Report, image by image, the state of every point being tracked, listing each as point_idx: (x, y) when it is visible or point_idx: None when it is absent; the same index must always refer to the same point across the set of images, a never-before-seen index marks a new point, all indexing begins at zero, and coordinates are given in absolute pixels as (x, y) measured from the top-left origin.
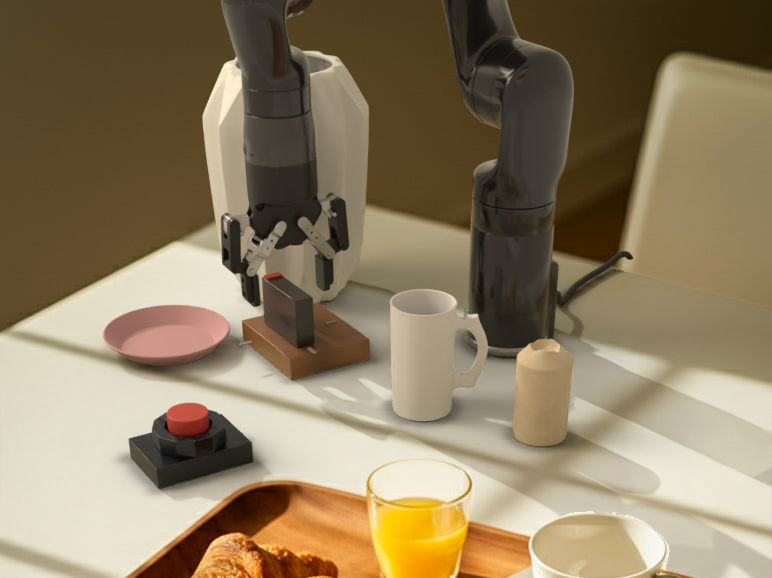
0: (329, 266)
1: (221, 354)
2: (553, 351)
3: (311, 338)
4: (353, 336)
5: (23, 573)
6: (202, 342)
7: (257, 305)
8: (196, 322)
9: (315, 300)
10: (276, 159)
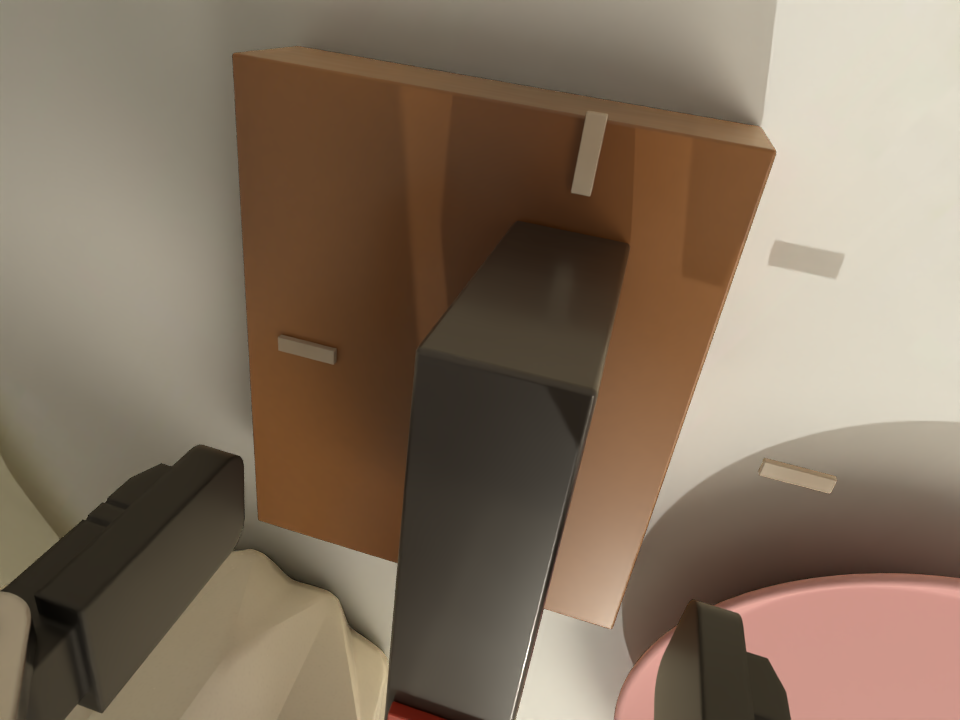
0: (78, 559)
1: (780, 543)
2: None
3: (527, 234)
4: (289, 148)
5: None
6: (768, 645)
7: (718, 608)
8: None
9: (243, 559)
10: None
